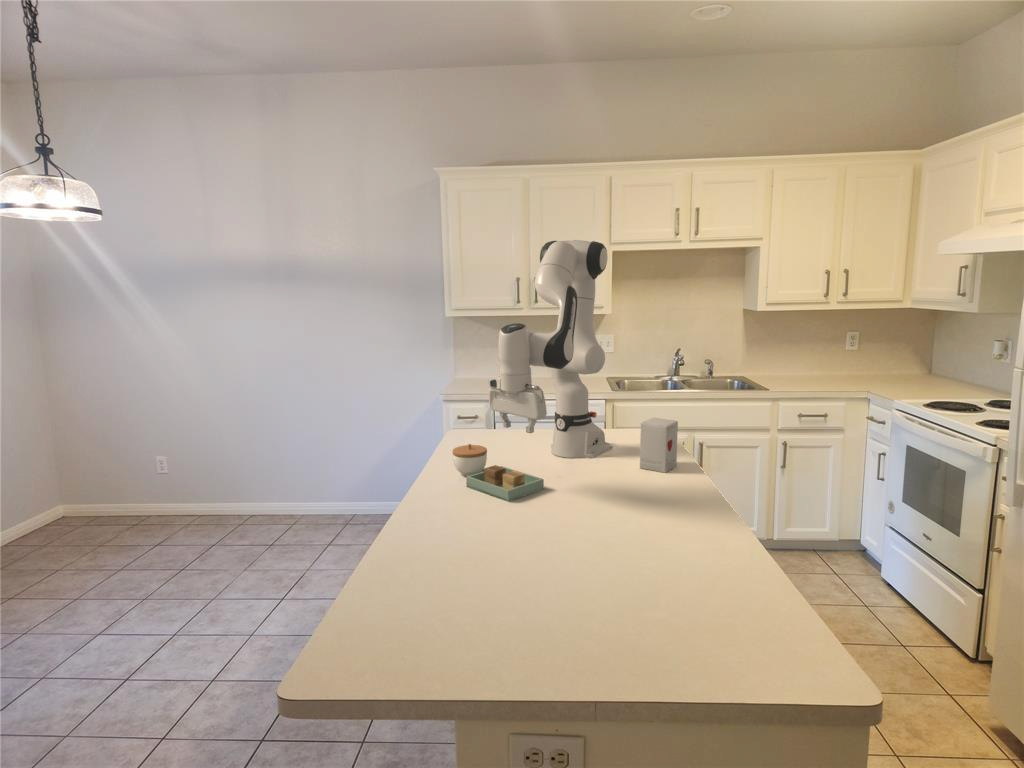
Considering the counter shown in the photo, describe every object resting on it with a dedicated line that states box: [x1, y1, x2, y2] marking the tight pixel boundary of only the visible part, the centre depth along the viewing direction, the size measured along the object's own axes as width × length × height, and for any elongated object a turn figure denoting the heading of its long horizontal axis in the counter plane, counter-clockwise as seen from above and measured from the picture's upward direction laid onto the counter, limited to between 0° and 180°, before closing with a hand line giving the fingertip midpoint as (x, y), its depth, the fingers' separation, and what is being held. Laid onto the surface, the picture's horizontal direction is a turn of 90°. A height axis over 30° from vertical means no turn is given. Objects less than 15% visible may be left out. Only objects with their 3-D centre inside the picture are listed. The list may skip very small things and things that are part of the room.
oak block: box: [503, 470, 526, 490], centre depth 186 cm, size 4×4×4 cm
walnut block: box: [483, 464, 507, 486], centre depth 192 cm, size 4×4×4 cm
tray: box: [465, 465, 545, 503], centre depth 189 cm, size 14×18×3 cm
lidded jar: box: [452, 443, 488, 477], centre depth 203 cm, size 11×11×9 cm
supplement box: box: [639, 417, 679, 474], centre depth 205 cm, size 9×9×15 cm
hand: (518, 429), depth 185 cm, fingers open, 8 cm apart
